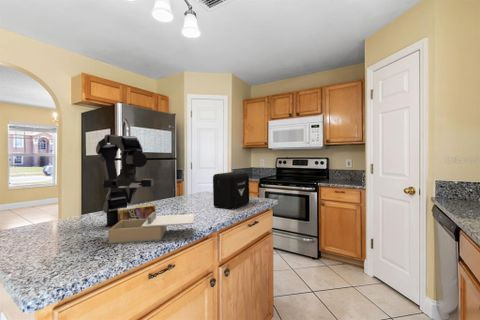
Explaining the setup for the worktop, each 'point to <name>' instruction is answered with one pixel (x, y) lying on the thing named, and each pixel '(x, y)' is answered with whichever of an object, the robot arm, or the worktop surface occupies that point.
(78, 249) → the worktop surface
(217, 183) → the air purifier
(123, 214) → the candy box
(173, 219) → the lid
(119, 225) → the box
